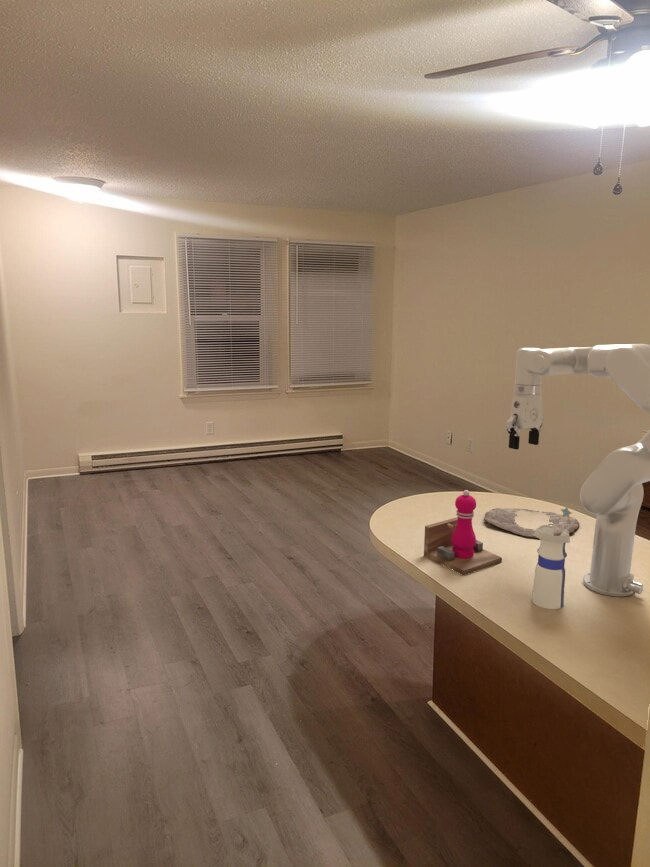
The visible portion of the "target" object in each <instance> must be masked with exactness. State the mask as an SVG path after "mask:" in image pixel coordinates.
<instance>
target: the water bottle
mask: <svg viewBox="0 0 650 867" xmlns="http://www.w3.org/2000/svg"><path fill="white" fill-rule="evenodd" d="M560 511H561V512H562V513H563V514H562V515H563V516H562V517H567V518H568V519H570V517H571V516H570V515H571V514H573V513H574V512H573V511H571V510H569V508H568V506H565V508H564V509H563V508H560ZM537 528H538V529H537V530H536V529H535V530H536V532H535V533H534V536H536V537H537V539H540V540H539V541H540V545H539V547H538V548H537V550H536V552H537V555H538V558H537V564H536V565H535V569H534V570H535V571H534V579H533V587H532V588H533V589H532V594H531V602H532V603H533V604H534V605H536V606H537V607H539V608H542V609H547V610H557V609H558V610H559V609H561V608H563V607H564V604H565V584H566V582H565V581H566V568H565V563H566V558H567V556H568V554H567V552H566V543H567V544H568V543H571V539H570V533H569V531H568V530H567V529H564V530H563V532H562V533H561V535H560V536H554V534H553V529H552V527H551V526H550V525H547V524H542V525H540V526H538V527H537Z"/></svg>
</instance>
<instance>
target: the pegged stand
mask: <svg viewBox="0 0 650 867" xmlns="http://www.w3.org/2000/svg"><path fill="white" fill-rule="evenodd" d="M457 521H458V516H456V517H453V518H449V519H445V520H441V521H438V522H435V523H431V524H427V525H425V526H424V541H423V543H424V544H423V545H424V546H423V556H424V557H425V556H426V557H425V558H427V557H428V559H429V558H430V559H429V560H431V559H432V560H431V561H433V560H434V561H433V562H435V561H436V562H435V563H437V562H438V563H437V564H439V563H440V564H439V565H441V564H442V565H441V566H443V565H444V567H445V566H446V567H445V568H447V567H449V568H450V569H449V568H448V569H449V570H451V569H453V570H454V572H455V571H456V572H455V573H457V572H458V573H457V574H459V573H460V574H459V575H461V574H462V575H461V576H463V575H464V576H466V575H469V574H471V573H475V572H478V571H480V570H483V569H487V568H489V567H491V566H495V565H497V564H500V563H502V561H503V557H502V556H499V555H497V554H496V553H493V552H491V551H488V550H486V549H484V546H483V545H484V542H482V541H479V540H478V539H476V545H475V546H474V547H473V549H474V555H473V557H471V558H468V559H462V558H458V557H455V556H454V554H455V552H454V551H452V548H453V547H454V546H453V544H452V543H451V537H452V534H453V532H454V530H455V528H456V526H457ZM453 570H452V571H453ZM474 571H475V572H474ZM468 573H469V574H468ZM465 574H466V575H465Z"/></svg>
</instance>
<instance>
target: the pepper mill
mask: <svg viewBox="0 0 650 867" xmlns="http://www.w3.org/2000/svg"><path fill="white" fill-rule="evenodd" d="M454 504H455V508H456V511H455V512H456V514H455V515H456V517H458V521H457V526H456V528H455V530H454V532H453V534H452V537H451V543H452V544H453V546H454V547H453V548H452V551H454V552H455V554H454V556H455V557H458V558H462V559H468V558H471V557H473V555H474V549H473V547H474V546H475V545H476V540H477V537H476V534H475V531H474V528H473V518H474V516H475V512H474V511H475V509H476V508H477V502H476V498H475V497H473V496H472V495H470V491H469V490H468V489H465V490H464V491H463V492H462V494H460V495H459V496H457V497H456V498H455V503H454Z"/></svg>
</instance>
